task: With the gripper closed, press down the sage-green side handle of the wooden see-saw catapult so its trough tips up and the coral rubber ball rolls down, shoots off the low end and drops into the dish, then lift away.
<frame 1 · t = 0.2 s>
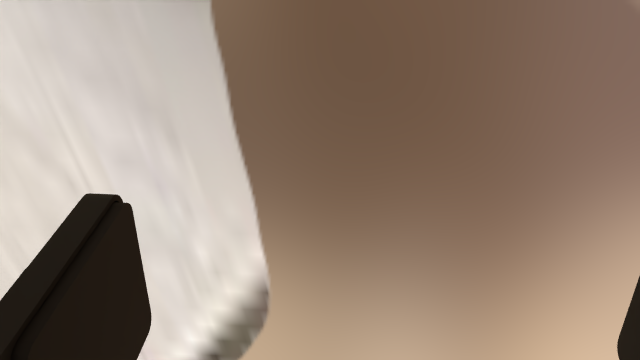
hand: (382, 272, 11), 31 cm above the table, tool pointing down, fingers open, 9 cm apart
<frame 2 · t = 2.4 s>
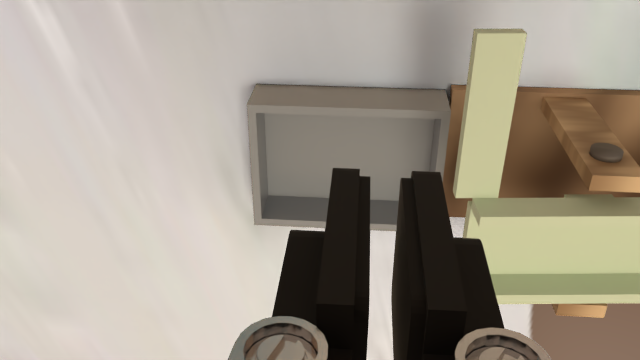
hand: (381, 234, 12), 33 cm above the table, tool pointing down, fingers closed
dish: (348, 147, 48), on the table
stand: (547, 154, 47), on the table
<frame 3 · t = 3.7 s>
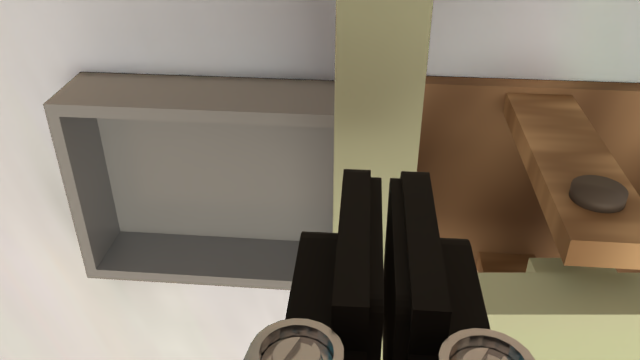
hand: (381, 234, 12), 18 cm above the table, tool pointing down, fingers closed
dish: (225, 165, 33), on the table
stand: (516, 178, 32), on the table
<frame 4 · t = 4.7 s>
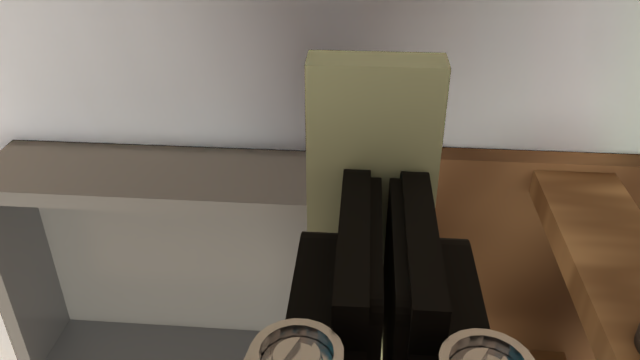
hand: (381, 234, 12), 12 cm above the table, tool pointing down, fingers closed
dish: (192, 246, 28), on the table
stand: (542, 263, 26), on the table
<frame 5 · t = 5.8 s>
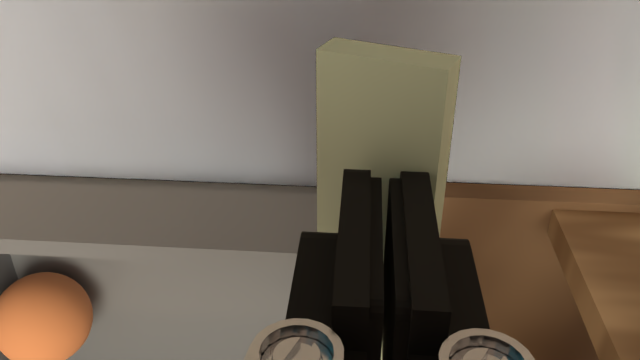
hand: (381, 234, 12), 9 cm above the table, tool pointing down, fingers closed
dish: (177, 286, 25), on the table
ball: (43, 318, 24), point 2 cm above the table, tilted 67°, touching dish
stand: (560, 306, 24), on the table
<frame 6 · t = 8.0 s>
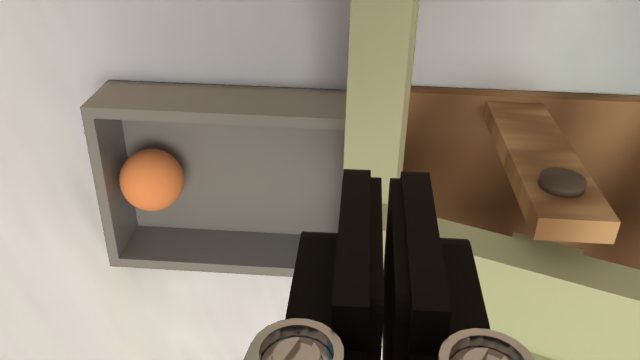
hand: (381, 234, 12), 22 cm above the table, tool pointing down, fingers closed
dish: (236, 164, 37), on the table
ball: (152, 179, 35), point 2 cm above the table, tilted 71°, touching dish
lever: (606, 220, 23), point 12 cm above the table, hinge at 21.6°
stand: (495, 177, 36), on the table
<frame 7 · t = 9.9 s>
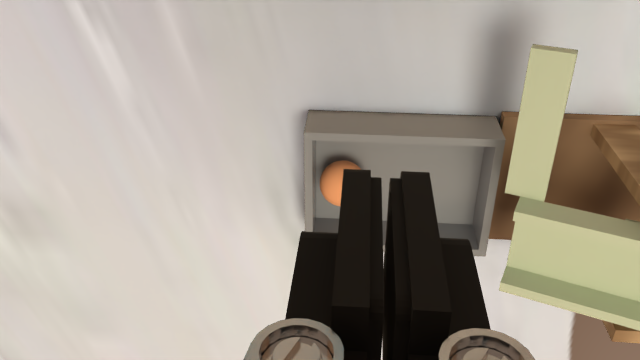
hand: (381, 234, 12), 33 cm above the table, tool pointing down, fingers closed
dish: (397, 171, 49), on the table
ball: (342, 183, 47), point 2 cm above the table, tilted 78°, touching dish
stand: (594, 179, 48), on the table
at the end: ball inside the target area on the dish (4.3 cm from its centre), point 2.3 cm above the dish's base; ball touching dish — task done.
